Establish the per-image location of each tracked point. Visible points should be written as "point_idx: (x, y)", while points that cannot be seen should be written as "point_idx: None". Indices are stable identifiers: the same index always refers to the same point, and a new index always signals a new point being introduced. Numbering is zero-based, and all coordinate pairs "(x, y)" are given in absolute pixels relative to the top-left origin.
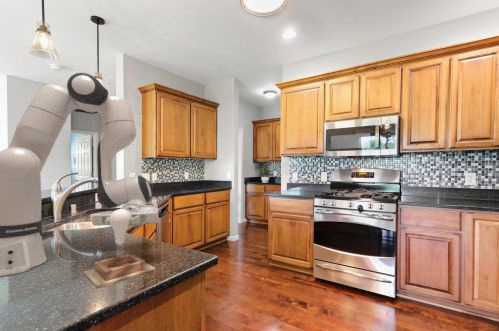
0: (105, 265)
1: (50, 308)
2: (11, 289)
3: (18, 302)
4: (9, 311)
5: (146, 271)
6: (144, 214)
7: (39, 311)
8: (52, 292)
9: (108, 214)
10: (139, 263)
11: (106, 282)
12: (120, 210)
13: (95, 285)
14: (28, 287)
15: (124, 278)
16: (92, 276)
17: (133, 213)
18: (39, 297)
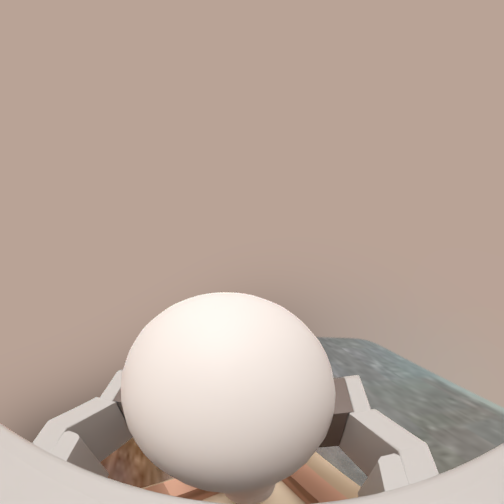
0: (304, 486)
1: (338, 368)
2: (491, 410)
3: (420, 381)
4: (402, 361)
5: (153, 485)
6: (4, 426)
7: (350, 362)
8: (391, 414)
9: (451, 472)
10: (168, 481)
11: None
12: (211, 293)
13: None
14: (469, 423)
15: None
16: (339, 481)
17: (77, 471)
18: (399, 396)
